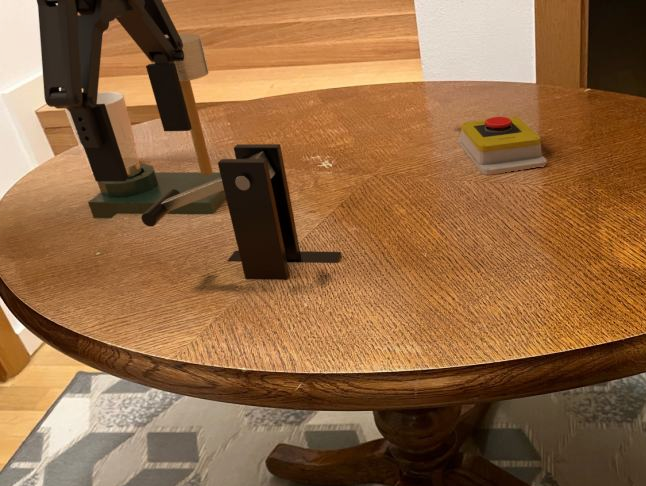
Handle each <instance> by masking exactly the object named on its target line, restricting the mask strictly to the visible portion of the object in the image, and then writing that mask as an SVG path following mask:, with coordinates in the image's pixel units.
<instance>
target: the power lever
mask: <svg viewBox="0 0 646 486" xmlns="http://www.w3.org/2000/svg"><path fill="white" fill-rule="evenodd" d="M245 159H267V157H266V156H265V154H264V152H263V151H262V152H260V153H257V154H255V155H252V156H250V157H247V158H245ZM267 163H268V168H269V173H270V178H272V177H273V176H274V175H275V172H274V170H273V168H272V166H271V164H270V163H269V161H268V159H267ZM222 190H224V187H223V183H222V179H221V178H218V179H216V180H213V181H210V182H208V183H205V184H203V185H200V186H198V187H195V188H193V189H190V190H188V191H185V192H183V193H180V192H179V191H178V190H175V189H171V190H169V191H168V192H167V193H166V194H165V195H164V196H163V197H162V198H160V199H159V200H158V201H157V202H156V203H155V204H154V205H153V206H152V207H150V208H149V209H148V210H147V211H146V212H145V213H144V214H141V221H142V223H143V224H144V225H145V226H146V227H149V228H150V227H155V226H156V225H157V224H158V223H159V222H160V221H161V220H162V219H163V218H165V216H166V215H168V214H167V213H168V212H169V211H171V210H174V209H176V208H179V207H182V206H184V205H187V204H189V203H192V202H194V201H197V200H199V199H202V198H205V197H207V196H210V195H212V194H215V193H217V192H220V191H222Z"/></svg>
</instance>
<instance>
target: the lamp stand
mask: <svg viewBox="0 0 646 486" xmlns="http://www.w3.org/2000/svg"><path fill="white" fill-rule="evenodd" d="M178 34H179V36H180V38H181V40H182V43H183V49H182V50H183V52H184V60H183V61H174V63H175V65H176V69H177V73H178V77H179V81H180V84H181V88H182V92H183V96H184V100H185V104H186V108H187V111H188V115H189V119H190V123H191V127H192V129H191V130H190V131H189V132H190V136H191V139H192V143H193V148H194V152H195V155H196V159H197V163H198V167H199V171H200V172H201V174H202V175H209V174H212V172H213V168H212V164H211V160H210V157H209V152H208V148H207V143H206V140H205V136H204V132H203V128H202V122H201V120H200V119H201V118H200V115H199V112H198V111H199V110H198V107H197V103H196V99H195V95H194V91H193V86H192V83H191V81H194V80H197V79H201V78H203V77H205V76H207V75H209V73H210V71H209V67H208V64H207V59H206V54H205V50H204V45H203V42H202V37H201V35H199V34H195V33H178ZM165 37H166V38H169V37H168V35H165ZM150 64H155V62H151V61H150Z"/></svg>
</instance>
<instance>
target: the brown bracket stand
mask: <svg viewBox="0 0 646 486" xmlns="http://www.w3.org/2000/svg"><path fill="white" fill-rule="evenodd" d="M233 151H234V156H235V158H221V159H220V160H218V162H217V166H218V170H219V172H220V175H221V179H222V183H223V187H224V191H225V196H226V203H227V208H228V212H229V216H230V220H231V224H232V229H233V233H234V238H235V241H236V245H237V250H234V251H233V253H232V254H231V256H229V258H228V259H227V260H226V262H227V263H229V262H233V263H234V262H236V263H238V262H239V263H241V266H242V271H243V276H244V279H245V280H264V281H265V280H270V281H274V280H275V281H287V280H288V279H289V278H290V276H291V274H290V269H289V263H295V264H296V263H298V264H300V263H301V264H303V263H305V264H308V263H309V264H339V263H340V261H341V259H342V257H343V255H342V251H309V250H305V251H302V250H300V243H299V238H298V232H297V226H296V222H295V215H294V210H293V207H292V206H293V205H292V200H291V195H290V190H289V185H288V184H289V183H288V178H287V174H286V173H287V172H286V167H285V162H284V157H283V152H282V147H281V144H280V143H269V144H268V143H267V144H266V143H265V144H264V143H263V144H261V143H256V144H255V143H254V144H253V143H250V144H248V143H247V144H245V143H244V144H241V143H240V144H238V143H237V144H235V146H234V147H233ZM262 151H263V152H264V154H265V156H266V157H267V159H268V161H269V163H270V164H271V166H272V168H273V170H274V172H275V175H274V176H273V177H272V178H270V173H269V168H268V163H267V159H245V158H247V157H250V156H252V155H255V154H257V153H260V152H262Z"/></svg>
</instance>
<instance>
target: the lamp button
mask: <svg viewBox="0 0 646 486" xmlns="http://www.w3.org/2000/svg"><path fill="white" fill-rule="evenodd" d="M122 159H123V162H124V165H125V168H126V172H127V175H128V179H131V178H134V177H136V176H139V175H141V174H142V170H141V166H140V164H141V163H140V160H139V158H138V159H136V158H122Z"/></svg>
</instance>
